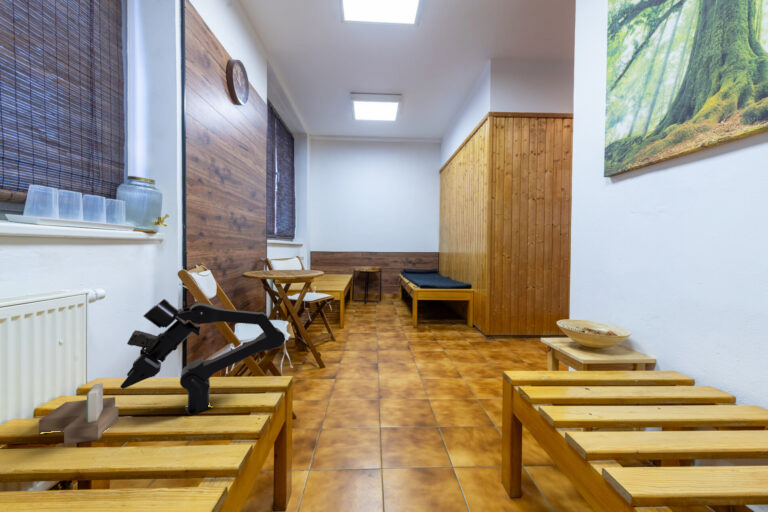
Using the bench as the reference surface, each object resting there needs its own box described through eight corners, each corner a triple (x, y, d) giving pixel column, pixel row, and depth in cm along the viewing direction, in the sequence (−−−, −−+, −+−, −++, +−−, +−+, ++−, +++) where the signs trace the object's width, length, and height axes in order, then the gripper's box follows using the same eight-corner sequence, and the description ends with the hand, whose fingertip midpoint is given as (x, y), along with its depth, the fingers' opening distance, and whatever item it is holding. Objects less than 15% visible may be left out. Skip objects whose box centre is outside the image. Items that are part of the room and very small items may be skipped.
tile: (102, 409, 86) (103, 383, 86) (96, 420, 80) (96, 392, 80) (93, 411, 85) (93, 384, 85) (86, 422, 79) (86, 394, 79)
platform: (130, 408, 94) (130, 395, 94) (98, 439, 79) (98, 424, 79) (66, 415, 90) (66, 401, 90) (17, 450, 74) (17, 434, 74)
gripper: (153, 314, 96) (106, 355, 91) (144, 327, 81) (87, 377, 75) (182, 336, 101) (140, 375, 95) (179, 352, 85) (128, 401, 79)
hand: (125, 381), depth 86 cm, fingers open, 9 cm apart
